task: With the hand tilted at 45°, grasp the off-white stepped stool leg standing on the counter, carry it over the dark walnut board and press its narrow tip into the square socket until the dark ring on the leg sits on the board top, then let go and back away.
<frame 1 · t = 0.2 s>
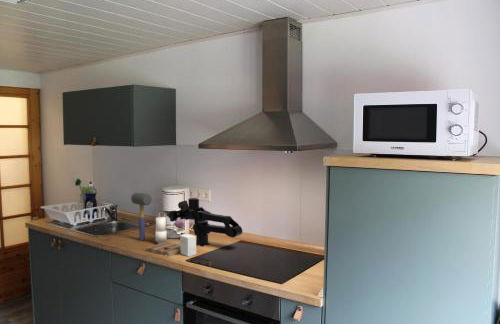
hand: (171, 213, 258), 17 cm above the worktop, tool horizontal, fingers open, 9 cm apart
small box: (188, 254, 225), on the worktop
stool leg: (161, 243, 248), on the worktop
rubber mallet: (142, 240, 256), on the worktop
socket board: (167, 250, 233), on the worktop
cupcake: (180, 234, 273), on the worktop
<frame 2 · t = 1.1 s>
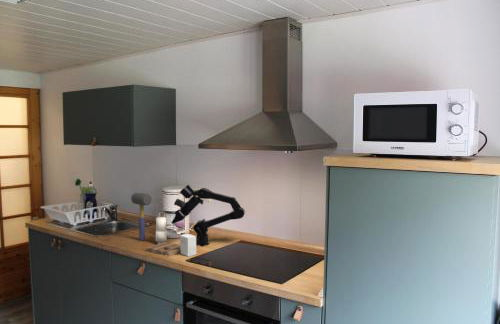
hand: (173, 221, 246), 14 cm above the worktop, tool tilted 45°, fingers open, 9 cm apart
nothing on the worktop moved.
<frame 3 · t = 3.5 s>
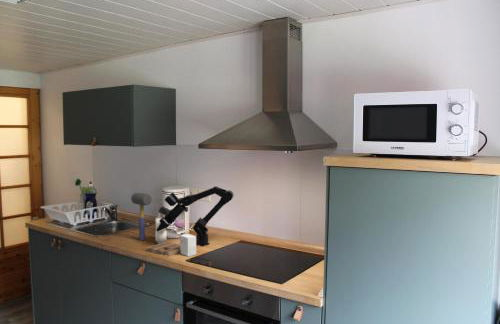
hand: (158, 229, 247), 9 cm above the worktop, tool tilted 45°, fingers closed on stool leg, 6 cm apart
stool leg: (161, 243, 248), on the worktop, touching gripper
everything else where it was.
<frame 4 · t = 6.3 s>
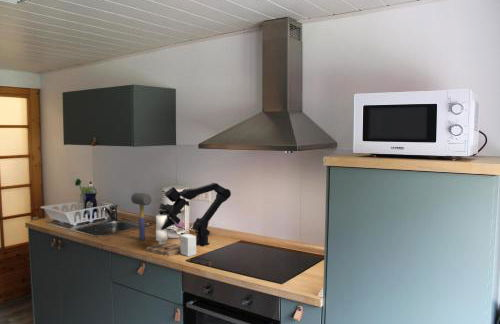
hand: (159, 228, 230), 13 cm above the worktop, tool tilted 45°, fingers closed on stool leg, 6 cm apart
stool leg: (162, 243, 231), point 5 cm above the worktop, touching gripper
everything else where it was.
when the fingers open (9 cm above the worktop, at t = 9.0 s): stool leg stays where it is, resting on socket board.
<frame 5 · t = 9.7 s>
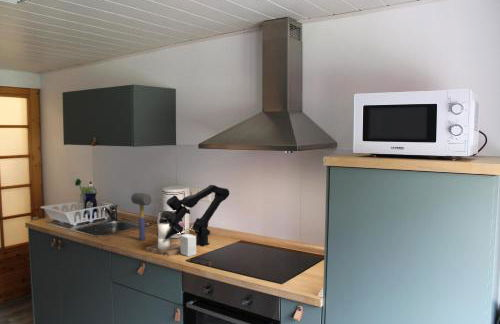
hand: (161, 237, 228), 9 cm above the worktop, tool tilted 45°, fingers open, 9 cm apart
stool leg: (164, 251, 229), resting on socket board
everything else where it was.
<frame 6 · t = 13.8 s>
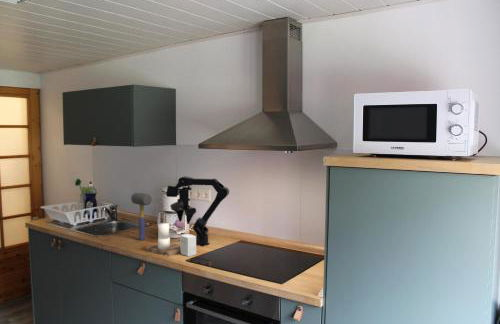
hand: (184, 222, 247), 13 cm above the worktop, tool pointing down, fingers open, 9 cm apart
nothing on the worktop moved.
at the end: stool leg 0.1 cm from the target spot on the socket board, point 0.2 cm above the socket board's base; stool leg tilted 0°; the gripper is holding nothing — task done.
